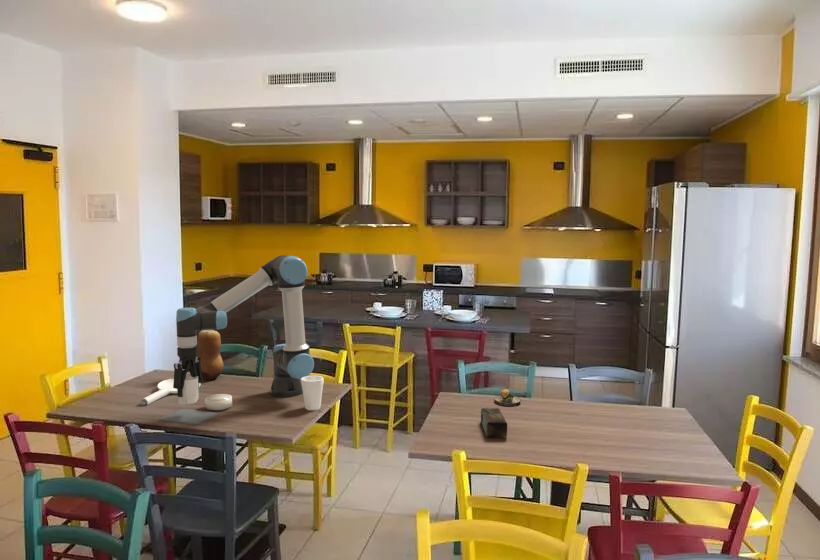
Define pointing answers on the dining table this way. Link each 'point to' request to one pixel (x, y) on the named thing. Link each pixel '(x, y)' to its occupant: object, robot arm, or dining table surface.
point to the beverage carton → (493, 423)
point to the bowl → (218, 401)
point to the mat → (189, 416)
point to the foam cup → (312, 391)
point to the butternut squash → (210, 353)
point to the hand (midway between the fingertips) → (188, 401)
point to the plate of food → (506, 399)
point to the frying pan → (161, 391)
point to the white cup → (191, 389)
